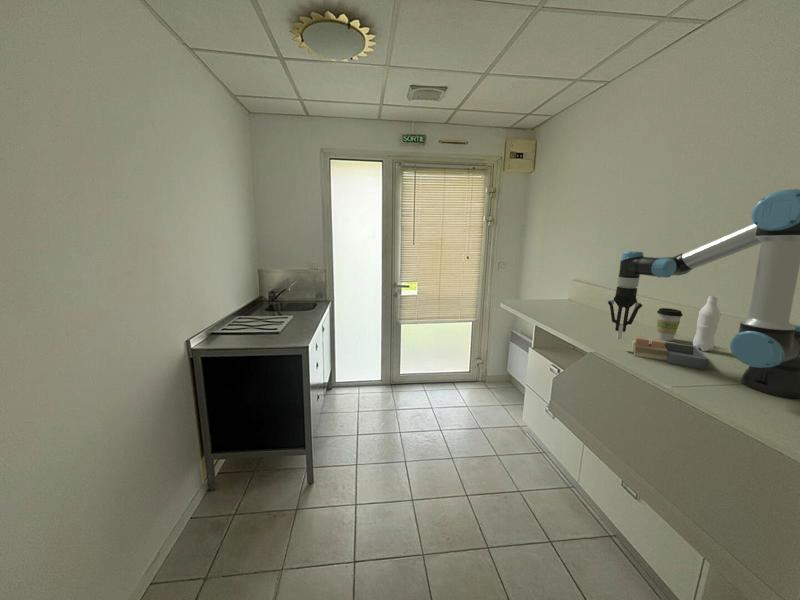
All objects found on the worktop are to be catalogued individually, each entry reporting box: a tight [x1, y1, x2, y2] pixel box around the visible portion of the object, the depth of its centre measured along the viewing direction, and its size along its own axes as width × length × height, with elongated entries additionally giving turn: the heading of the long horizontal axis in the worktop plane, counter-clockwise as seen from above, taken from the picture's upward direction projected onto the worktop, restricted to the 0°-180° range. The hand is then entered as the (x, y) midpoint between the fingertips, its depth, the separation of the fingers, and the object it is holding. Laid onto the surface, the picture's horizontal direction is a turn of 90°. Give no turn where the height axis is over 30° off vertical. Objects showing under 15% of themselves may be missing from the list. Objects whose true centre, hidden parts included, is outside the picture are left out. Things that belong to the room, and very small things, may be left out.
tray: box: [664, 341, 710, 370], centre depth 138 cm, size 18×12×4 cm, turn 150°
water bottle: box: [692, 294, 722, 352], centre depth 147 cm, size 7×7×25 cm
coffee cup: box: [656, 307, 683, 342], centre depth 163 cm, size 10×10×15 cm
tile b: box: [649, 337, 666, 349], centre depth 141 cm, size 4×4×2 cm
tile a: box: [634, 336, 650, 346], centre depth 144 cm, size 4×4×2 cm
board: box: [630, 338, 668, 362], centre depth 143 cm, size 12×11×4 cm
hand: (619, 338), depth 148 cm, fingers closed
